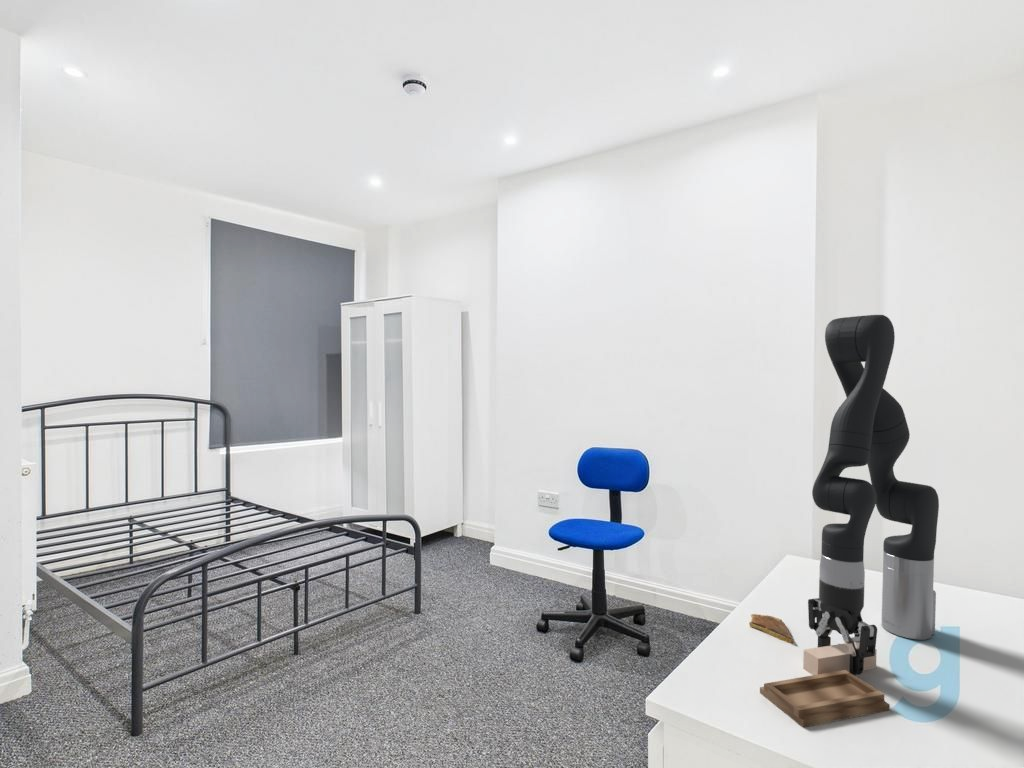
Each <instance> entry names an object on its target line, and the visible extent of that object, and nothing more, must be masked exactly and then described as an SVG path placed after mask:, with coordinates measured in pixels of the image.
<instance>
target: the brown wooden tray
mask: <svg viewBox="0 0 1024 768" xmlns="http://www.w3.org/2000/svg"><path fill="white" fill-rule="evenodd" d="M759 694H761V695H762V696H763V697H764V698H766V699H767V700H768V701H770V702H771V703H772V704H773V705H774V706H776V707H777V708H778V709H779V710H781V711H782V712H783V713H784V714H786V715H787V716H788V717H789V718H791V719H792V720H793V721H794V722H795V723H797V724H798V725H799V726H801V727H802V728H807V727H811V726H816V725H821V724H826V723H831V722H836V721H841V720H847V719H852V718H857V717H861V716H866V715H871V714H876V713H882V712H887V711H890V710H891V709H890V708H891V706H890V703H888V702H887V701H885V693H884V692H882V691H880V690H879V689H877V688H875V687H873V686H872V685H870V684H869V683H867V682H866V681H864V680H862V679H861V678H860V677H857V675H855V676H854V675H853V674H851V673H849V672H848V671H846V670H842V671H836V672H830V673H824V674H818V675H812V674H811V675H806V676H802V677H801V676H800V677H793V678H789V679H784V680H778V681H772V682H766V683H764V684H763V686H759Z"/></svg>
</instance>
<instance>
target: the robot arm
mask: <svg viewBox="0 0 1024 768" xmlns="http://www.w3.org/2000/svg"><path fill="white" fill-rule="evenodd" d="M894 328H895V327H894V324H893V322H892V321H891V319H890V318H889V317H888V316H886V315H884V314H868V315H857V316H855V315H854V316H848V317H847V316H846V317H839V318H838V317H837V318H834V319H832V320H830V321H829V322H828V324H827V325H826V327H825V331H824V339H825V346H826V347H825V348H826V350H827V353H828V356H829V359H830V361H831V363H832V365H833V368H834V370H835V373H836V375H837V377H838V379H839V382H840V384H841V386H842V389H843V392H844V393H845V397H846V398H845V400H844V401H843V402H842V403H841V404H840V405H839V407H838V409H837V410H836V411H835V413H834V416H833V417H832V421H831V424H830V425H831V426H830V429H829V430H830V432H829V439H828V440H829V441H828V446H827V452H826V456H825V458H824V461H823V463H822V466H821V468H820V471H818V472H819V473H818V474H817V476H816V478H815V481H814V483H813V486H812V493H811V494H812V499H813V502H814V504H815V506H816V507H818V509H820V510H822V511H827V512H831V513H836V514H842V515H847V516H849V520H848V522H847V523H828V524H826V525H824V526H823V527H822V531H821V556H820V561H819V579H818V583H819V584H818V585H819V587H818V597H817V598H816V597H815V598H809V599H808V600H807V607H808V608H807V609H808V611H807V612H808V627H809V629H811V630H814V631H815V634H816V636H817V648H818V647H824V646H831V639H832V638H831V636H829V635H831V633H832V632H833V631H835V632H837V633H839V635H841V636H842V640H843V642H844V643H847V644H848V647H849V650H850V653H851V654H850V667H849V672H850V673H851V674H853V675H854V676H859V675H862V674H863V672H864V671H865V670H864V668H863V667H864V666H863V665H864V658H865V657H871V656H874V655H875V649H876V646H877V645H876V644H877V638H878V637H877V636H878V627H877V626H876V625H875V624H868V623H867V622H865V621H863V618H862V613H861V612H862V611H863V608H864V605H865V577H866V576H865V572H866V571H865V563H864V552H865V551H864V550H865V549H864V547H865V537H866V531H867V528H868V525H869V522H870V519H871V517H872V514H873V511H874V510H875V508H876V509H877V512H878V514H879V515H880V516H881V517H882V518H883V519H885V520H888V521H891V522H892V521H893V522H897V523H900V524H905V525H910V526H912V527H911V531H910V533H908V534H900V535H890V536H887V537H885V538H884V540H883V545H882V547H883V550H882V552H883V554H882V555H883V556H882V587H881V588H882V589H881V590H882V592H881V593H882V594H881V595H882V596H881V627H882V628H883V629H885V630H886V631H887V632H889V633H891V634H893V635H896V636H899V637H903V638H906V639H912V640H918V641H919V640H920V641H921V640H929V639H931V638H932V636H933V635H935V634H936V608H937V607H936V602H937V600H936V599H937V592H936V591H935V590H934V578H935V577H934V575H935V574H934V573H935V572H934V568H935V567H934V566H935V565H934V564H935V549H936V545H937V544H936V543H937V530H938V529H937V528H938V521H939V512H940V511H939V508H940V507H939V506H940V503H939V502H940V501H939V495H938V492H937V491H936V488H934V487H933V486H931V485H927V484H922V483H921V484H920V483H915V482H908V481H900V480H898V479H897V478H896V476H895V475H896V474H895V471H894V466H895V463H896V462H897V460H898V459H899V458H900V456H901V455H902V453H903V452H904V450H905V449H906V447H907V446H908V444H909V440H910V435H911V434H910V429H909V426H908V423H907V418H906V414H905V412H904V409H903V407H902V405H901V404H900V403H899V401H898V400H897V399H896V398H895V397H894V396H893V395H892V394H890V392H888V391H887V390H886V389H884V385H885V382H886V379H887V374H888V370H889V368H890V363H891V360H892V359H891V358H892V356H893V353H894V347H895V338H896V337H895V335H896V334H895V329H894ZM862 363H864V365H863V364H862ZM866 465H867V467H868V473H869V476H870V477H869V478H870V481H871V483H870V481H867V480H865V479H860V478H852V477H847V476H840V475H841V474H842V472H843V471H844V470H845V469H847V468H848V469H849V468H855V467H864V466H866ZM850 635H854V636H853V637H852V636H850ZM854 642H855V643H856V645H857V648H858V649H856V647H855V644H854ZM863 670H864V671H863Z"/></svg>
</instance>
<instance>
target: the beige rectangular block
mask: <svg viewBox="0 0 1024 768" xmlns="http://www.w3.org/2000/svg"><path fill="white" fill-rule="evenodd" d="M854 644H855V647H856V649H858V648H857V645H856V643H855V642H854ZM850 654H851V653H850V650H849V647H848V644H847V643H845V642H844V643H837V644H832V645H831V646H824V647H818V646H817V647H812V648H806V649H803V660H802V661H803V666H802V667H803V670H805V671H806V672H808V673H809V674H811V676H812V675H818V674H824V673H830V672H836V671H842V670H846V671H848V672H849V667H850ZM863 666H864V667H863V668H864V670H863V672H864V671H869V670H875V669H877V649H876V648H875V655H874V656H871V657H865V658H864V665H863ZM849 673H850V672H849Z"/></svg>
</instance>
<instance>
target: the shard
mask: <svg viewBox="0 0 1024 768" xmlns="http://www.w3.org/2000/svg"><path fill="white" fill-rule="evenodd" d="M750 617H751V619H750V620H751V621H750V622H749V623H748V624H749V628H752V629H756V630H759V631H762V632H764V633H765V634H768V635H769V636H772V637H773V638H776V639H779V640H781V641H784V642H786V643H789V644H793V641H794V639H793V637H792V635H791V634H790V632H789V630H788V628H787V626H786V623H785V622H784V621H783V620H782V619H780V618H779V617H775V616H772V615H768V614H767V615H764V614H757V613H756V614H755V613H754V614H750Z"/></svg>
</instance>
